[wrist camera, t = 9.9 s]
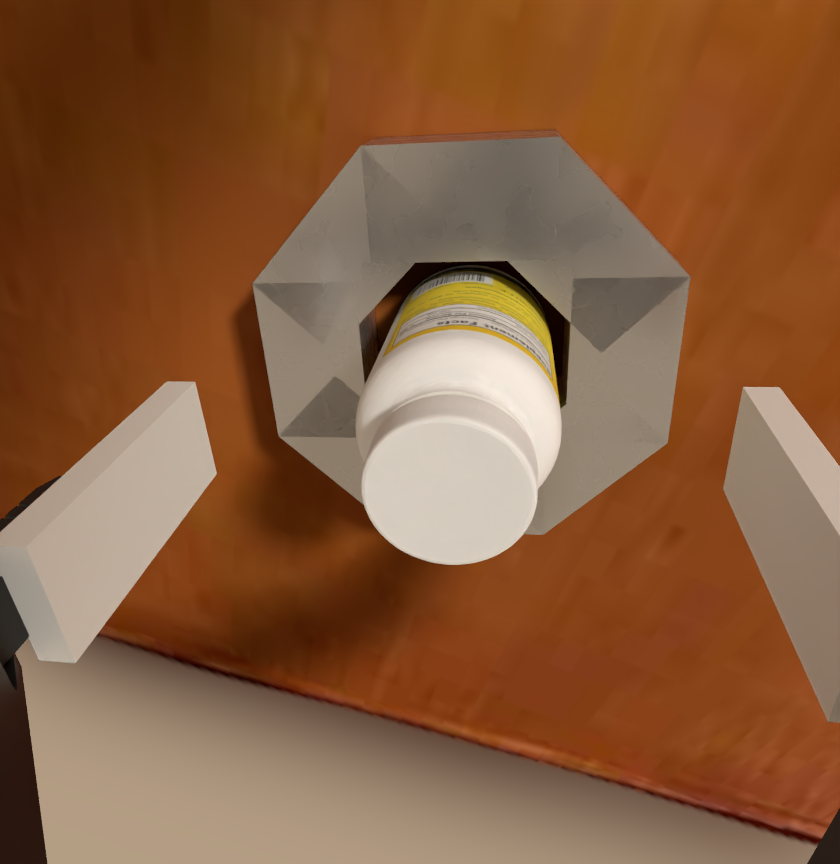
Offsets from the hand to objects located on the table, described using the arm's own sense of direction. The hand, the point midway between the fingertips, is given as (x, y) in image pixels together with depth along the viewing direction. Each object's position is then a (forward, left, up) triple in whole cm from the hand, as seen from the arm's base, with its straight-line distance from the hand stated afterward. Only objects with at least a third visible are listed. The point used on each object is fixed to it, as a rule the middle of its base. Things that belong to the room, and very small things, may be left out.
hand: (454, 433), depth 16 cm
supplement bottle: (0, 0, -8) cm, 8 cm away
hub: (0, 0, -8) cm, 8 cm away
